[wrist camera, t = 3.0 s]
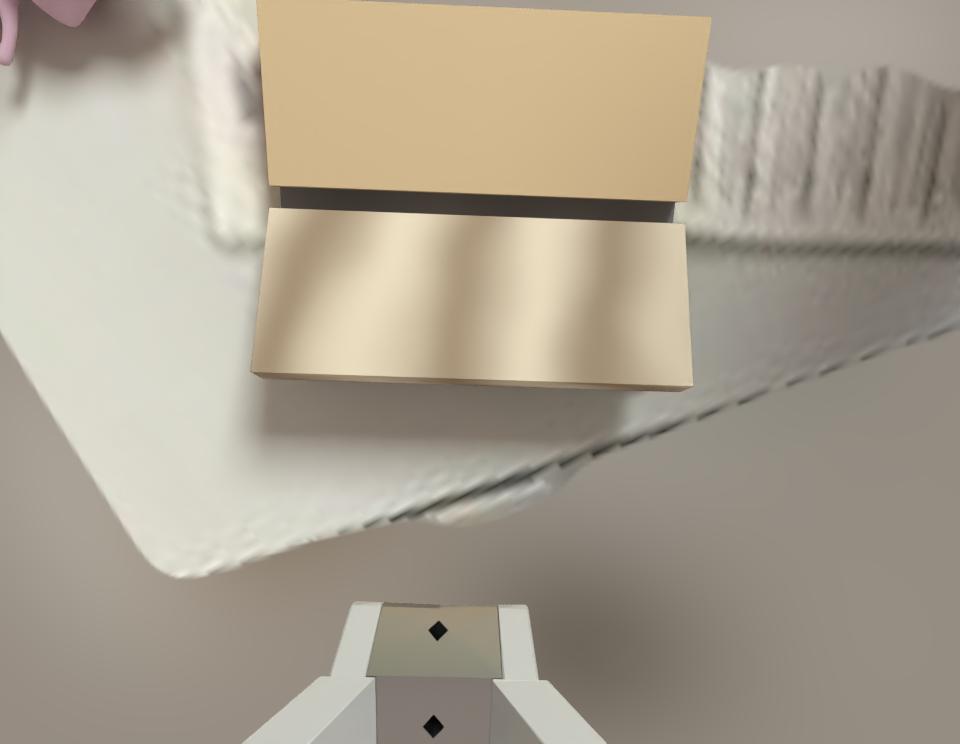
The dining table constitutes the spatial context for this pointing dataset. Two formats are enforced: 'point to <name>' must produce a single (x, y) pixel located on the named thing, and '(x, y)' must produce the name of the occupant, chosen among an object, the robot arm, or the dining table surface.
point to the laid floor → (480, 109)
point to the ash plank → (473, 301)
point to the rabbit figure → (63, 3)
